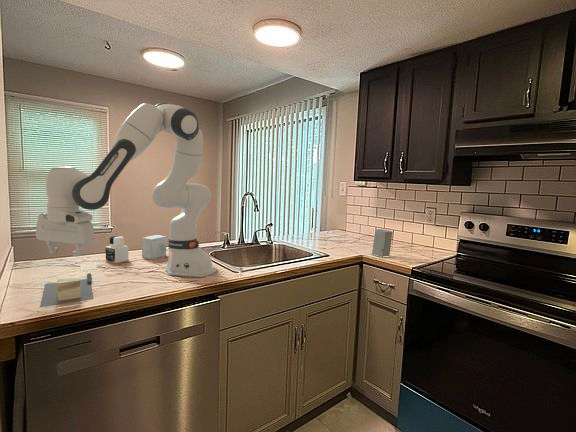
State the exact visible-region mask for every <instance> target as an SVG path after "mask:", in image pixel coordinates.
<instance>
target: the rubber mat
mask: <svg viewBox="0 0 576 432" xmlns="http://www.w3.org/2000/svg"><path fill="white" fill-rule="evenodd" d="M92 286H93V285H92V282H91V283H87V278H82V279H80V293H81V298H77V299H71V300H65V301H59V302H58V287H57V282H49V283H44V287H43V292H42V295H41V296H42V297H41V301H40V305H39V308H43V307H50V306H58V305H65V304H70V303H71V304H72V303H77V302H83V301H84V302H85V301H90V300H94V299H95V298H94V293H93V287H92Z"/></svg>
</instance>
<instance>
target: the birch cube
mask: <svg viewBox="0 0 576 432" xmlns="http://www.w3.org/2000/svg"><path fill="white" fill-rule="evenodd" d="M56 280H57V281H56V283H57V287H58V302H59V301H65V300H71V299H77V298H81V293H80V280H81V279H80V275H71V276H63V277H57V278H56Z"/></svg>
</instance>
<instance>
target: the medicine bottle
mask: <svg viewBox="0 0 576 432" xmlns="http://www.w3.org/2000/svg"><path fill="white" fill-rule="evenodd" d="M105 261H106V262H109V263H113V264H118V263H122V262H126V261H129V246H128V245H125V237H124V236H123V235H112V236H110V237H109V245H108V246H107V245H106V246H105Z"/></svg>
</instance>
